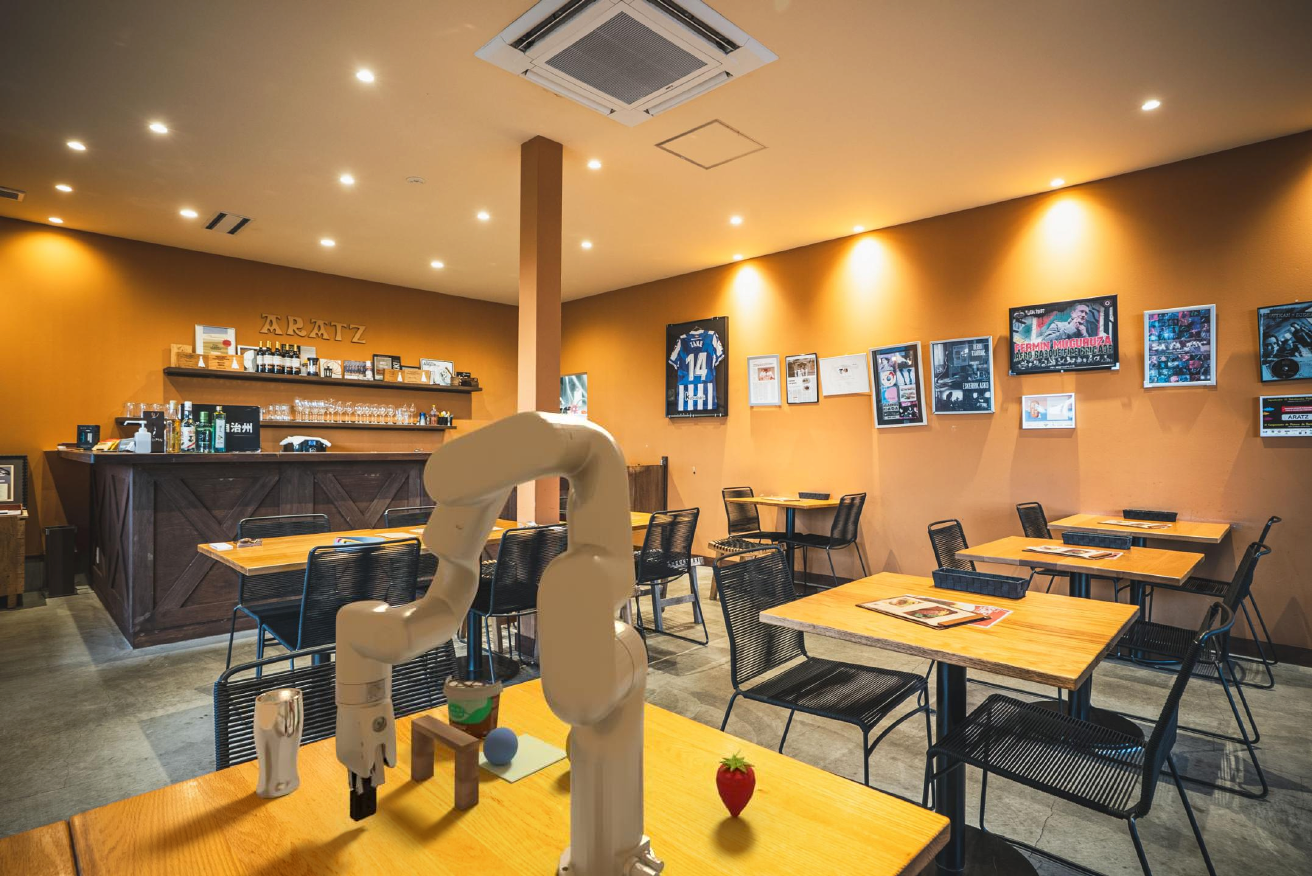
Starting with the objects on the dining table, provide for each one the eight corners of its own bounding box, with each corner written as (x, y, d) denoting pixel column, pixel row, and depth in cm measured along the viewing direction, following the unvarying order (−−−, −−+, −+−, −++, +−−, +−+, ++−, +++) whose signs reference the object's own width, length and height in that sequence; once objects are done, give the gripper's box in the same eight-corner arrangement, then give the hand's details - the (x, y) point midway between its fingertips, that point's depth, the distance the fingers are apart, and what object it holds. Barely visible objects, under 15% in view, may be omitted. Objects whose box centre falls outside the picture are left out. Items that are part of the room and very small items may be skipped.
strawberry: (756, 804, 99) (756, 738, 99) (755, 832, 92) (755, 761, 92) (717, 801, 100) (717, 735, 100) (714, 828, 93) (713, 758, 93)
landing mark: (571, 754, 116) (571, 753, 116) (511, 782, 106) (511, 781, 106) (525, 734, 124) (525, 733, 124) (466, 758, 114) (466, 757, 114)
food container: (429, 738, 123) (429, 685, 123) (448, 725, 129) (448, 674, 129) (486, 746, 119) (486, 691, 119) (503, 732, 125) (503, 680, 125)
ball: (494, 756, 108) (509, 776, 110) (515, 724, 112) (530, 744, 114) (470, 747, 111) (486, 766, 114) (491, 716, 115) (506, 736, 118)
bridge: (427, 771, 110) (427, 714, 110) (478, 802, 100) (479, 739, 100) (410, 778, 107) (411, 719, 108) (461, 810, 98) (461, 746, 98)
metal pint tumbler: (243, 793, 103) (244, 698, 103) (285, 774, 109) (286, 684, 109) (269, 804, 100) (270, 706, 100) (312, 784, 106) (312, 691, 106)
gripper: (414, 693, 92) (413, 823, 92) (365, 670, 102) (364, 788, 101) (362, 709, 86) (361, 848, 86) (315, 683, 96) (314, 808, 96)
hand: (363, 815), depth 94 cm, fingers closed
